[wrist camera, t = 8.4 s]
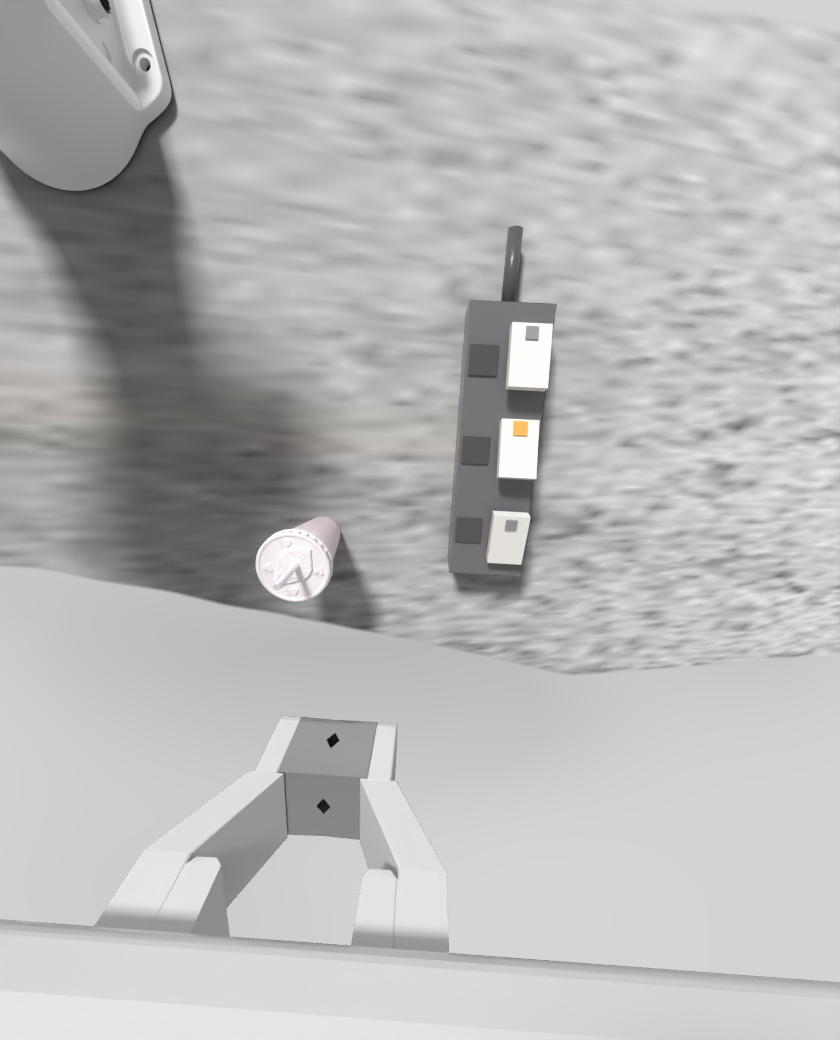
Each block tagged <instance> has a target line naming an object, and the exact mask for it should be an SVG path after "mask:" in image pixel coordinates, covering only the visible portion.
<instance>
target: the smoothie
mask: <svg viewBox="0 0 840 1040" xmlns="http://www.w3.org/2000/svg"><path fill="white" fill-rule="evenodd" d="M340 536H341V531H340V528H339V526H338V524H337V523H336V522H335V521H334V520H333V519H331V518H329V517H325V516H320V517H316V518H314V519H312V520H310V521H308V522H306V523H303V524H301V525H299V526H297V527H295V528H293V529H286V530H282V531H279V532H276V533H274V534H273V535H272V536H270V537H269V538H268V539H267V540H266V541H265V542H264V543H263V544H262V545H261V547H260V549H259V550H258V553H257V556H256V571H257V575H258V577H259V579H260V581H261V583H262V584H263V586H264V587H265V588H266V589H267V590H268V591H269V592H270V593H272V594H273V595H275V596H276V597H278V598H280V599H283V600H286V601H291V602H302V601H307V600H310V599H312V598H314V597H316V596H317V595H319V594H320V593H321V592H322V591H323V590H324V588H325V587H326V586H327V584H328V583H329V582H330V579H331V576H332V573H333V559H334V556H335V553H336V549H337V546H338V543H339V540H340Z"/></svg>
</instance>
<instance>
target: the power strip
mask: <svg viewBox="0 0 840 1040" xmlns="http://www.w3.org/2000/svg"><path fill="white" fill-rule="evenodd" d="M522 234H523V228H522V227H521V226H512V227H510V228H509V229H508V237H507V248H506V258H505V268H504V279H503V289H502V300H501V301H483V300H470V302H469V305H468V307H467V310H466V318H465V331H464V345H463V358H462V372H461V385H460V399H459V413H458V426H457V440H456V453H455V467H454V480H453V494H452V507H451V521H450V534H449V548H448V564H449V572H451V573H468V574H485V575H503V576H520V577H521V570H522V564H521V565H517V564H500V563H487V559H486V554H487V547H488V540H489V533H490V526H491V520H492V513H493V511H507V512H526V513H529V510H530V502H531V494H532V487H533V480H521V479H502V478H497V461H498V443H499V425H500V420H501V419H502V418H504V419H524V420H540V421H539V434H540V426H541V419H542V411H543V404H544V396H545V391H525V390H506V376H507V361H508V346H509V332H510V326H511V324H512V322H525V323H546V324H553V328H554V321H555V313H556V305H557V304H547V303H526V302H515V301H516V291H517V282H518V272H519V263H520V253H521V244H522ZM552 336H553V330H552ZM538 441H539V440H538ZM523 555H524V554H523ZM522 562H523V559H522Z"/></svg>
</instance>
